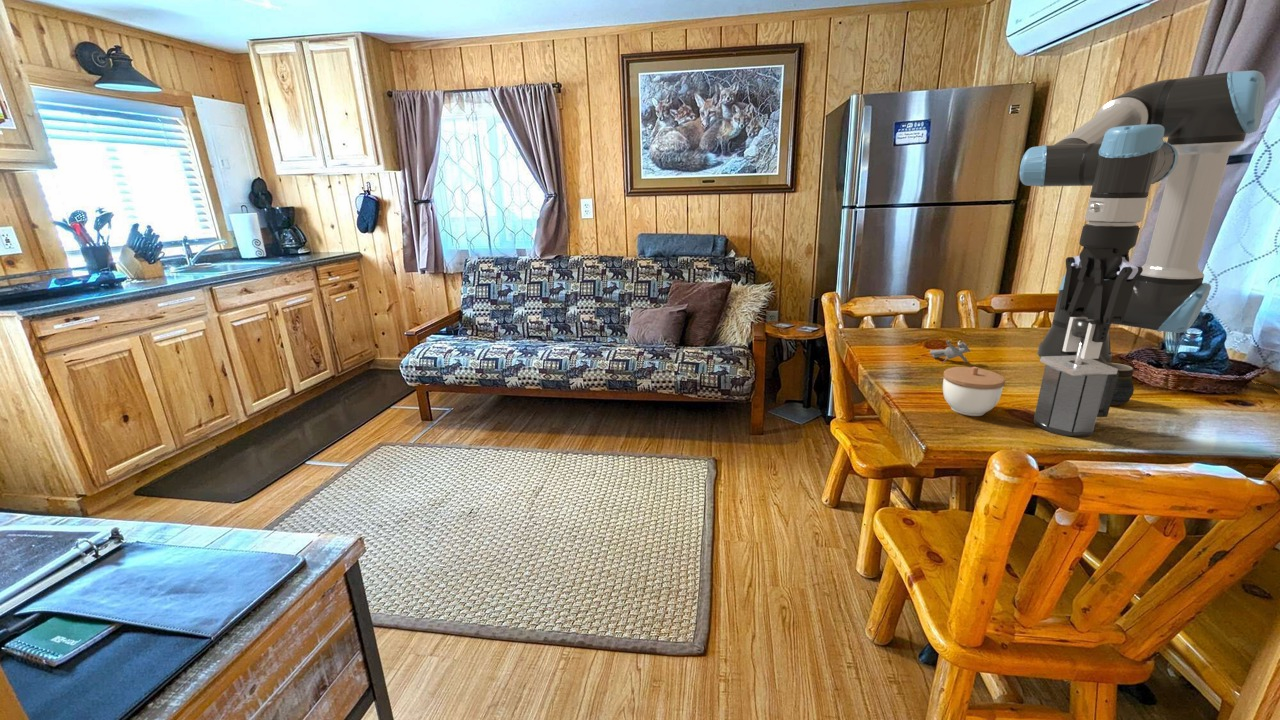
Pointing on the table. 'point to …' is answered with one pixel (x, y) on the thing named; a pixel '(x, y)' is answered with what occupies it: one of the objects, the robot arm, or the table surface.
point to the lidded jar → (972, 389)
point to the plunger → (1080, 331)
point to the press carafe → (1074, 395)
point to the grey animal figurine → (951, 351)
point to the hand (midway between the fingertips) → (1080, 354)
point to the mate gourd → (1122, 383)
